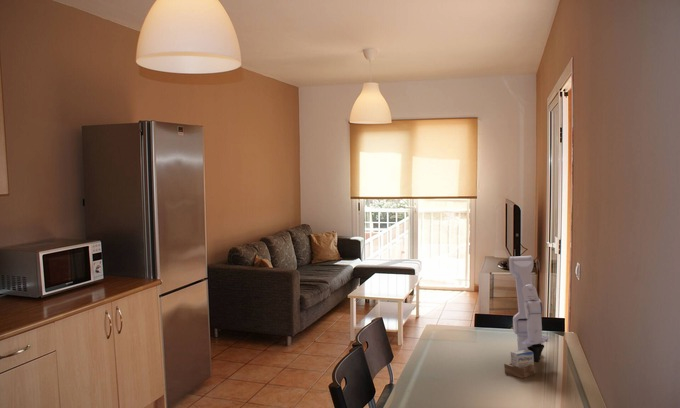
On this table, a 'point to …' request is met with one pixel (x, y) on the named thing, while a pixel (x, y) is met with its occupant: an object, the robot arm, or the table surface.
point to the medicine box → (522, 358)
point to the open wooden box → (519, 370)
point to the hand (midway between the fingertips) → (536, 361)
